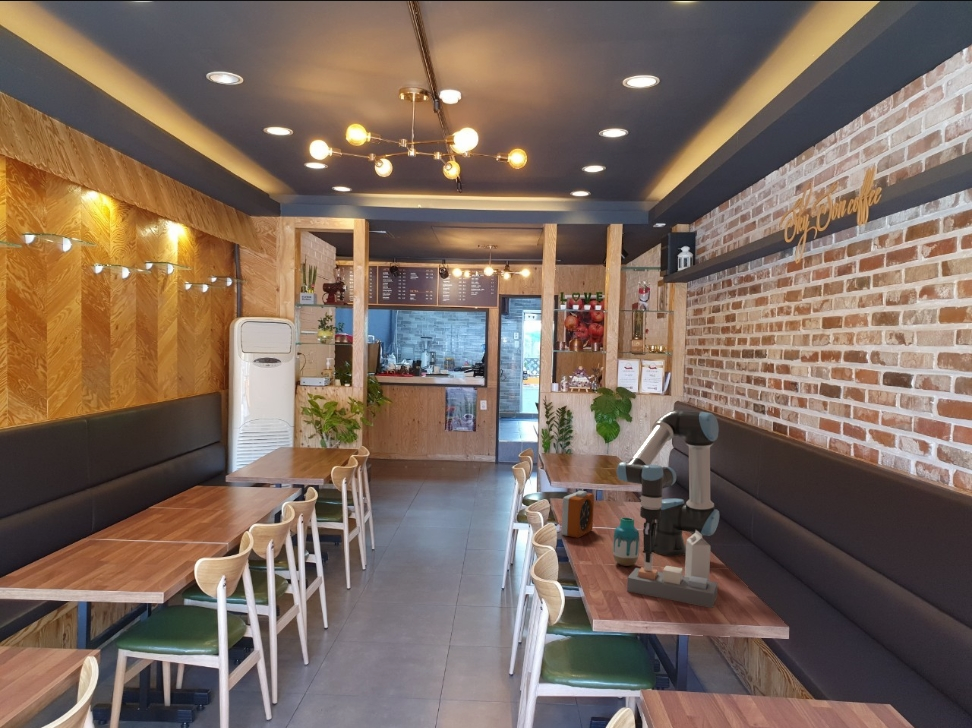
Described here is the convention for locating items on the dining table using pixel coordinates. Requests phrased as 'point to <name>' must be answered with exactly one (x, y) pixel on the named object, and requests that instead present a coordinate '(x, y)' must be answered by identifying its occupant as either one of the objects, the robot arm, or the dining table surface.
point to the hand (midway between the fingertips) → (648, 570)
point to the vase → (626, 543)
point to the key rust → (648, 573)
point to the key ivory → (672, 574)
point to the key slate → (698, 582)
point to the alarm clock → (577, 514)
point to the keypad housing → (672, 589)
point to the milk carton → (697, 556)
